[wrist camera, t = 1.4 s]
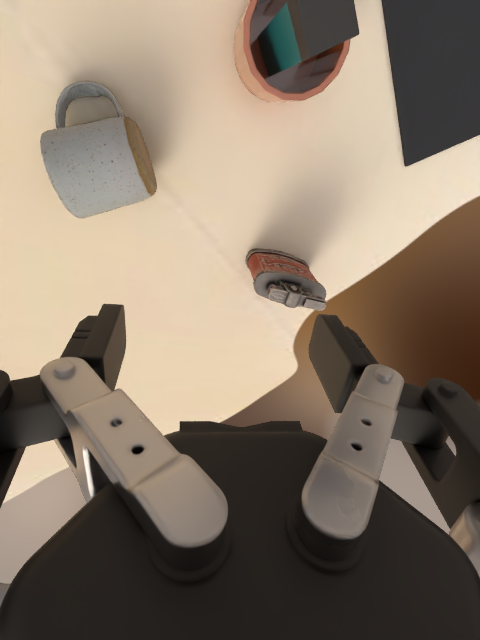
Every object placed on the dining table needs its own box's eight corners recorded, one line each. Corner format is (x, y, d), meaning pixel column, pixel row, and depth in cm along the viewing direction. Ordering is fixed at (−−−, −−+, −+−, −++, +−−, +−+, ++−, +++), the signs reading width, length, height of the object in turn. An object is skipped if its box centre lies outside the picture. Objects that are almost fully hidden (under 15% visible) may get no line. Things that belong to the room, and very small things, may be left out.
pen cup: (219, 17, 31) (226, -7, 25) (307, -27, 30) (337, -64, 24) (252, 116, 35) (265, 118, 29) (330, 80, 35) (361, 73, 28)
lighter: (242, 269, 44) (253, 308, 35) (250, 243, 42) (264, 277, 33) (301, 283, 45) (326, 323, 37) (311, 259, 44) (339, 295, 35)
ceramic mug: (163, 189, 38) (156, 203, 31) (90, 209, 38) (68, 228, 31) (124, 71, 33) (105, 59, 26) (39, 96, 33) (-1, 90, 26)
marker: (256, 37, 32) (293, -8, 20) (290, 20, 31) (348, -35, 19) (268, 77, 33) (309, 58, 21) (300, 61, 33) (360, 33, 21)
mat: (371, -75, 29) (373, -78, 29) (568, -176, 28) (572, -180, 27) (404, 166, 39) (406, 166, 39) (550, 102, 38) (553, 102, 37)
